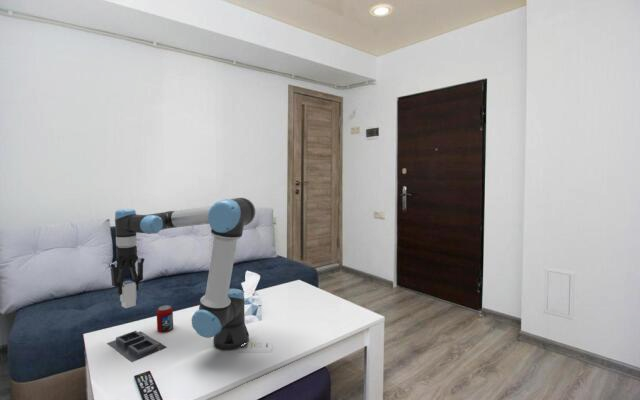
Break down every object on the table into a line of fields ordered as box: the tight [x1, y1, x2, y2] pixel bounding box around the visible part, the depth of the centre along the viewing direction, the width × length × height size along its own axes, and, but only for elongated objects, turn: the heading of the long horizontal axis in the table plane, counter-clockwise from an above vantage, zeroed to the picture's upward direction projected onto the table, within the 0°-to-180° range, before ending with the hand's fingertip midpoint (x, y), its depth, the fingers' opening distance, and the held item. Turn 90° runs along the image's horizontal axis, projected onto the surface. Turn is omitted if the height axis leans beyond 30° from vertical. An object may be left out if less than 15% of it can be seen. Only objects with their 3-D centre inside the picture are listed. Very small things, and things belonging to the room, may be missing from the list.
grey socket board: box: [106, 330, 168, 363], centre depth 140 cm, size 24×14×4 cm, turn 53°
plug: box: [121, 280, 137, 309], centre depth 142 cm, size 4×4×11 cm
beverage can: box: [156, 304, 174, 334], centre depth 154 cm, size 7×7×12 cm
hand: (128, 299), depth 142 cm, fingers closed on plug, 4 cm apart
